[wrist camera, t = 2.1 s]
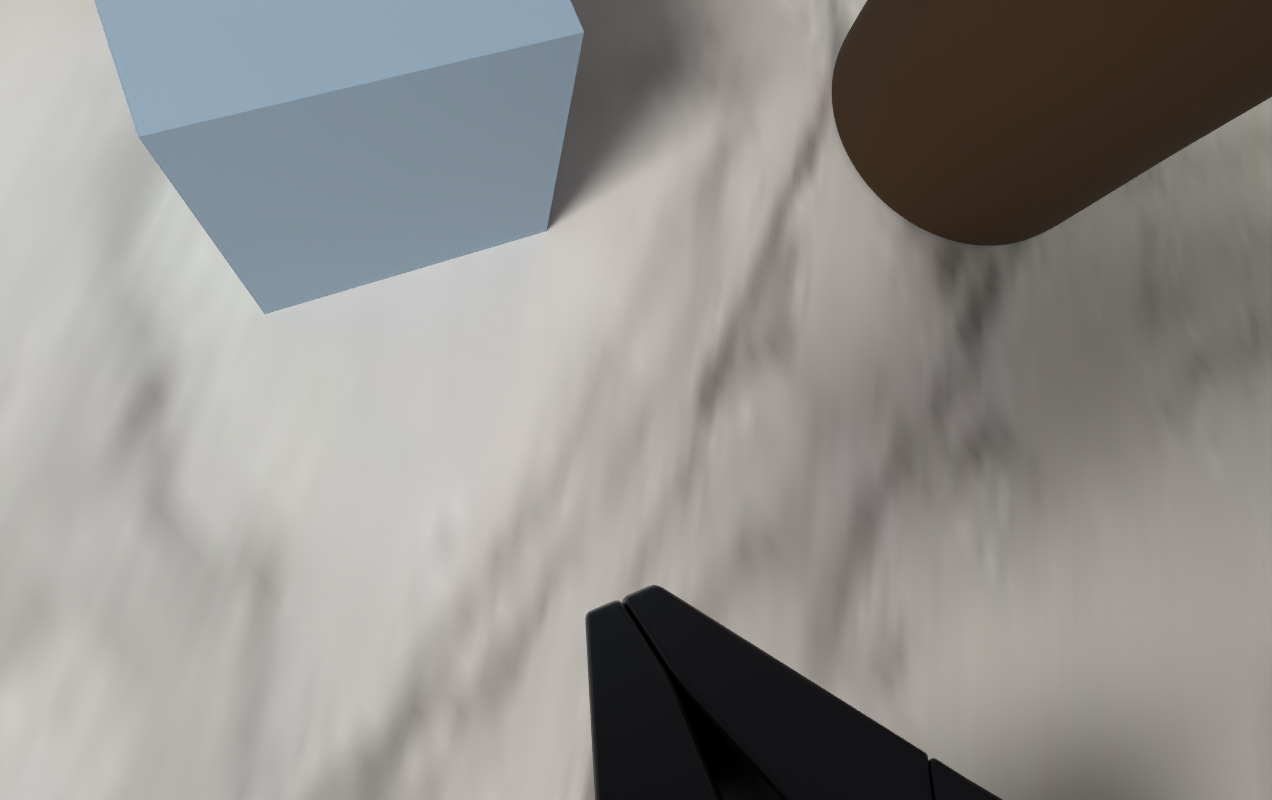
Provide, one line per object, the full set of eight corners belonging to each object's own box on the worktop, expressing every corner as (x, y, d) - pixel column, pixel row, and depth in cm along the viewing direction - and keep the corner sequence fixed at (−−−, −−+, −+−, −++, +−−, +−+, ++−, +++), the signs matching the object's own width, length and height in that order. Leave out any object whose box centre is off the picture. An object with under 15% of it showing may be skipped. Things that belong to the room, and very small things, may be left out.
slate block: (546, 232, 25) (583, 32, 16) (265, 314, 23) (138, 136, 14) (442, -29, 26) (426, -340, 18) (169, 28, 24) (0, -291, 16)
